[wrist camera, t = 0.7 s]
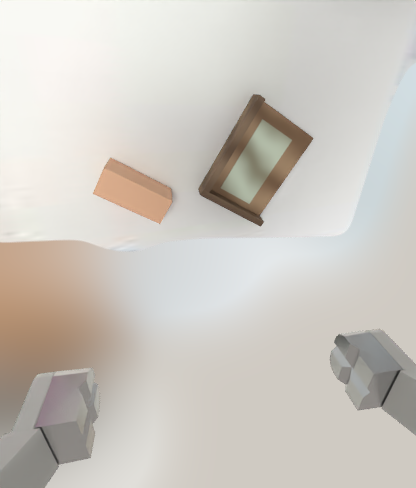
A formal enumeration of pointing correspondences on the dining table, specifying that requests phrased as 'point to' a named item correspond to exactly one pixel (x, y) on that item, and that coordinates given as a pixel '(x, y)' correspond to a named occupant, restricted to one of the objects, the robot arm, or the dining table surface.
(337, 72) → the dining table surface
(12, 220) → the dining table surface
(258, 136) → the brown wooden flat frame
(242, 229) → the dining table surface
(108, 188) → the terracotta block
